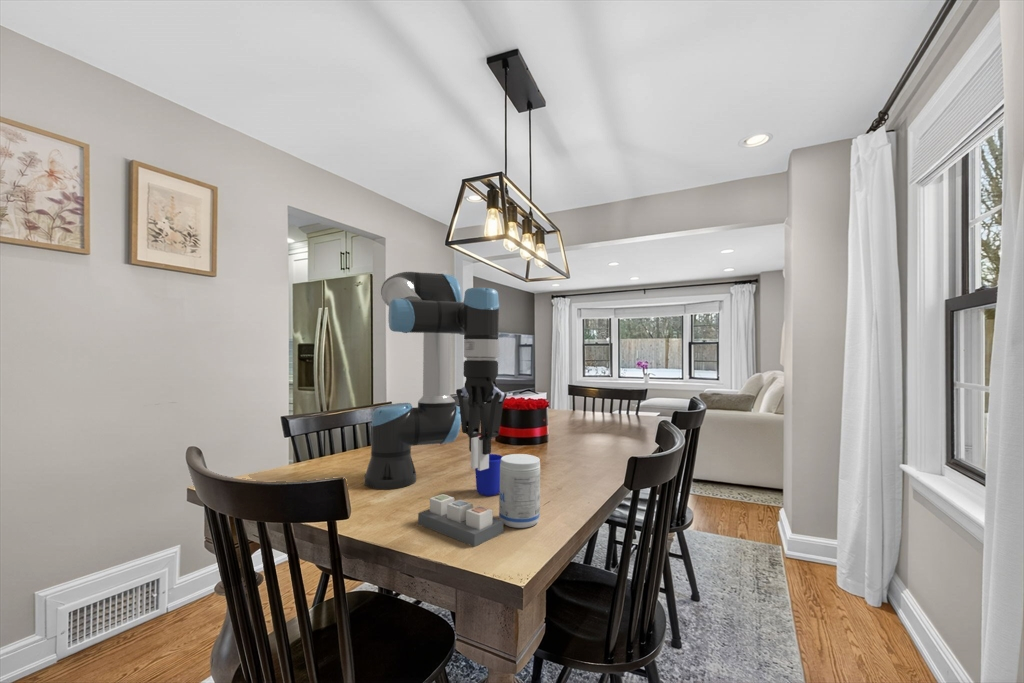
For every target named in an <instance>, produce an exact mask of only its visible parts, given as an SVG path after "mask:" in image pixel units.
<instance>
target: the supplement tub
mask: <svg viewBox="0 0 1024 683" xmlns="http://www.w3.org/2000/svg"><path fill="white" fill-rule="evenodd" d="M502 456H503V457H502V458H501V463H500V492H499V493H498V495H499V496H498V497H499V498H498V499H499V500H498V501H499V503H498V504H499V505H498V506H499V508H498V509H499V510H498V518H499V519H498V520H501V521H503V525H505V526H507V527H510V528H515V529H525V528H530V527H534V526H536V525H537V524H538V523H539V521H540V514H541V513H540V511H541V510H540V509H541V507H540V506H541V503H540V502H541V462H540V461H541V460H540V458H539V457H537V456H535V455H533V454H526V453H511V454H506V455H502Z"/></svg>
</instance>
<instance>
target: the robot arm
mask: <svg viewBox="0 0 1024 683" xmlns="http://www.w3.org/2000/svg"><path fill="white" fill-rule="evenodd" d="M380 296H381V299H382V300H383V302H384V304H386V306H387V307H388V314H387V315H388V318H387V319H388V327H389V329H390V331H391V332H397V333H403V334H407V333H413V334H414V333H415V334H417V333H419V334H420V333H422V334H423V342H422V344H423V345H422V346H423V348H422V349H423V353H422V354H423V355H422V356H423V361H422V365H423V366H422V368H423V369H422V396H421V398H420V399H419V400H418V401H417V407H413V405H412V403H410V402H402V403H401V402H399V403H392V404H387V405H381V406H379V407H377V408H375V409H374V410H373V411H372V415H371V423H370V427H371V446H370V448H371V449H370V460H369V462H368V466H367V469H366V471H365V474H364V485H365V487H367V488H370V489H375V490H393V489H400V488H401V489H402V488H406V487H409V486H411V485H413V484H415V483H416V481H417V471H416V468H415V465H414V461H413V457H412V453H411V452H412V448H411V447H412V446H413V447H414V446H425V445H426V446H427V445H443V444H449V443H450V444H451V443H453V442H454V441H456V440H457V438H458V436H459V433H460V430H461V431H462V432H461V433H463V434H466V435H467V436H468V438H469V440H468V442H469V443H468V444H469V445H468V447H469V448H468V449H469V452H470V469H472V470H475V468H478V470H479V471H481V470H484V469H488V468H489V454H492V453H491V452H492V439H493V438H495V437H498V436H499V435H500V430H501V424H502V423H501V422H502V415H503V408H504V402H505V400H506V399H507V396H508V394H507V392H506V391H501V390H500V389H499V388H498V384H497V377H498V376H499V362H498V360H496V359H498V357H499V314H500V313H499V309H500V300H499V292H498V291H497V290H496V289H494V288H491V287H470V288H467V289H466V290H464V297H463V302H462V290H461V285H460V283H459V280H458V279H457V277H455V276H454V275H450V274H444V273H432V272H418V271H403V272H398V273H395V274H393V275H391V276H389V277H388V278H386V280H384V282H383V283H382V286H381V289H380ZM452 334H454V335H455V334H459V335H463V357H464V358H465V359H466V360H464V361H463V377H465V382H464V386H463V387H461V388H458V389H457V388H456V390H455V393H456V395H457V398H458V405H459V406H458V405H456V400H455V399H454V398H453V397H452V396H451V345H452V344H451V339H452V338H451V335H452Z"/></svg>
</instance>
